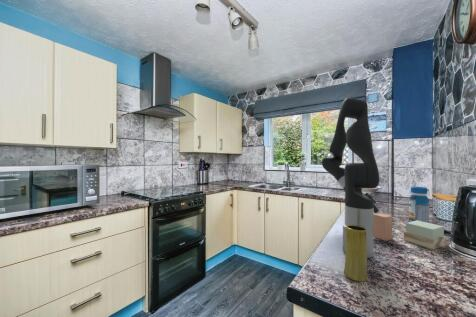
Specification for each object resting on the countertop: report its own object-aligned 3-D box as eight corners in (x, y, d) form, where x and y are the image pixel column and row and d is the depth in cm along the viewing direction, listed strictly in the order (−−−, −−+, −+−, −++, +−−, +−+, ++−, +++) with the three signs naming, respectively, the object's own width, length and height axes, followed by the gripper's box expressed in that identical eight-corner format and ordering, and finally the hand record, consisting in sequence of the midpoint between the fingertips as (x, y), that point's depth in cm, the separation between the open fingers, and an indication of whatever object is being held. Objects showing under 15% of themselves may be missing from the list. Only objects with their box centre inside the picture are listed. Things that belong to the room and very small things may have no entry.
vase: (346, 268, 65) (346, 223, 65) (369, 275, 61) (369, 227, 61) (341, 276, 60) (342, 227, 60) (366, 284, 56) (366, 232, 56)
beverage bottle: (425, 227, 105) (425, 188, 105) (405, 223, 112) (405, 186, 112) (432, 225, 109) (432, 187, 109) (412, 221, 116) (412, 186, 116)
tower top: (432, 239, 79) (432, 229, 79) (405, 232, 88) (405, 222, 88) (443, 236, 83) (443, 226, 83) (416, 229, 91) (417, 220, 91)
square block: (385, 240, 87) (385, 217, 87) (373, 236, 92) (373, 214, 92) (392, 239, 89) (392, 216, 89) (380, 235, 94) (380, 213, 94)
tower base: (432, 250, 79) (433, 240, 79) (403, 240, 88) (403, 231, 88) (446, 246, 83) (446, 236, 83) (416, 237, 92) (417, 228, 92)
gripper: (344, 181, 100) (366, 210, 90) (363, 180, 106) (387, 207, 95) (335, 190, 105) (355, 218, 95) (354, 189, 111) (375, 215, 100)
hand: (371, 213), depth 95 cm, fingers open, 8 cm apart
